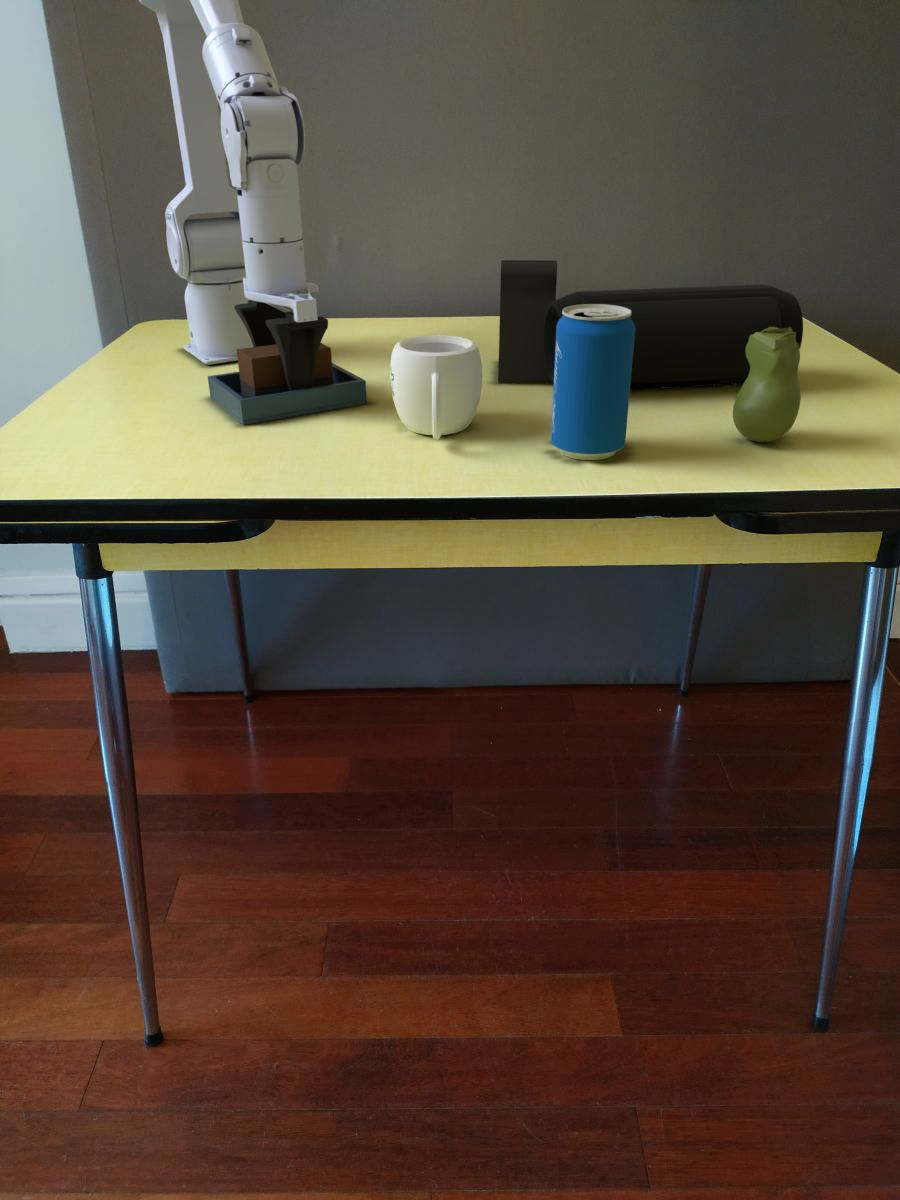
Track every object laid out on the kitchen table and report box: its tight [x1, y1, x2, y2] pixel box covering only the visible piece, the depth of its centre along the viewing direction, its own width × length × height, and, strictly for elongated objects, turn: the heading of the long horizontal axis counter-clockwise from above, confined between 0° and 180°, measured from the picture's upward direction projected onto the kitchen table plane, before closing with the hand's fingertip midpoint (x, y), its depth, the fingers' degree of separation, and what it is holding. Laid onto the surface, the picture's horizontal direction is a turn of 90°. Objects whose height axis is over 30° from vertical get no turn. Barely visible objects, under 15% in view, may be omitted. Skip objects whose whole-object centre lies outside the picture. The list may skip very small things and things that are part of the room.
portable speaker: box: [543, 284, 804, 391], centre depth 96 cm, size 26×10×10 cm, turn 99°
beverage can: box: [550, 304, 635, 461], centre depth 77 cm, size 6×6×12 cm
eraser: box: [237, 342, 333, 398], centre depth 93 cm, size 4×8×5 cm, turn 121°
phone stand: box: [497, 259, 558, 385], centre depth 100 cm, size 9×6×12 cm, turn 175°
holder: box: [207, 362, 368, 426], centre depth 93 cm, size 10×13×2 cm
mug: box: [389, 334, 483, 441], centre depth 83 cm, size 12×8×8 cm
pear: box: [732, 327, 802, 443], centre depth 80 cm, size 6×5×10 cm
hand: (286, 381), depth 93 cm, fingers open, 7 cm apart
